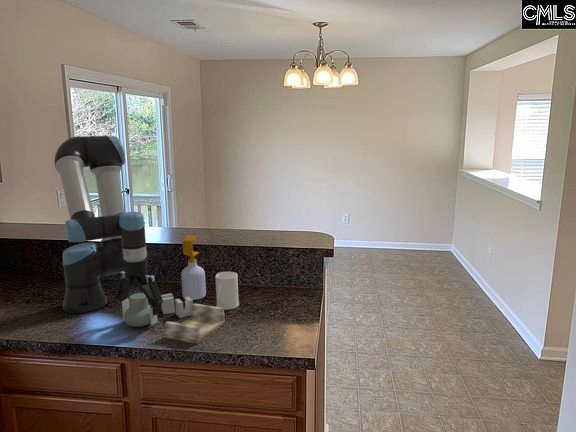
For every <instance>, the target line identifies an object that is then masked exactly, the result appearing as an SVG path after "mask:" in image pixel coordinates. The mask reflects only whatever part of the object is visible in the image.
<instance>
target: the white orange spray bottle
mask: <svg viewBox="0 0 576 432" xmlns="http://www.w3.org/2000/svg"><path fill="white" fill-rule="evenodd" d="M197 238H198V236H197V235H192V234H188V235H187V236H186V237H185V238H184V239H183V241H182V254H183V255H184V256H188V258H189V259H188V260H187V266H186V267H185V268H184V269H182V271H181V273H180V276H181V291H182V298H183V299H184V300H185V297H188V296H189V297H190V298H191V299H192V300H193V301H196V300H197V301H198V300H200V299H203V298H205V296H206V295H207V289H206V273H205V270H204V268H202V266H199V265H198V263H197V262H198V261H197V259H196V258H195V257H196V256H197V255H199V254H200V252H199V251H194V247H193V243H194V241H195V240H196V239H197Z"/></svg>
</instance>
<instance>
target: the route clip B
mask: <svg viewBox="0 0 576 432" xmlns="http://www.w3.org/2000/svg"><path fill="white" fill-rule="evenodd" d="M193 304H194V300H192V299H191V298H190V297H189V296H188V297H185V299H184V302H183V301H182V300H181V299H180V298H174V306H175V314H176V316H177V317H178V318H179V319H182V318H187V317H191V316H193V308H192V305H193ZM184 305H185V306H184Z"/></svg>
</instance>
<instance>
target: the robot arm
mask: <svg viewBox="0 0 576 432" xmlns="http://www.w3.org/2000/svg"><path fill="white" fill-rule="evenodd" d="M125 156H126V153H125V149H124V146H123V144H122V141H121V140H120V138H118V137H117V136H115V135H105V134H104V135H96V136H95V135H89V136H87V135H86V136H85V135H84V136H81V135H79V136H72V137H70V138H67V139H66V140H65V141H63V142H62V143H61V144H60V145H59V146H58V148H57V150H56V152H55V155H54V159H53V161H54V168H55V170H56V172H57V173H58V174H59V175H60V179H61V184H62V188H63V192H64V193H63V194H64V198H65V201H66V206H67V210H68V215H69V219H68V220H66V221H65V233H66V238H67V240H68V242H70V243H76V244H74V245H72V246H69V247H68V248H66V249H64V250H63V253H62V265H63V274H64V282H65V294H64V299H63V302H62V309H63V311H64V312H66V313H68V314H83V313H84V314H85V313H88V312H89V313H90V312H92V311H93V312H94V311H97V310H99V309H101V308H103V307H105V305H106V304H107V303H108V299H107V295H106V292H105V291H104V288H103V286H102V284H101V279H100V278H101V277H104V276H105V277H106V276H109V275H110V276H111V275H117V285H116V288H115V293H114V298H115V299H118V301H119V302H120V303H119V304H120V309H121V310H122V312H121V313H122V319H123V320H124V321H126V311H127V309H128V308H129V307H130V302H129V297H128V296H129V295H130V292H131V290H132V288H133V287H138V288H139V289H140V290H141V291H142V293H144V294H145V296H146V297H147V299H148V304H149V305H151V306H149V310H150V326H154V325H155V324H156V323H158V315H159V306H160V305H161V303H163V300H162V297H161V295H162V294H161V292H160V288H159V286H158V283H157V279H156V275H155V274H152V275H149V274H148V272H147V271H148V268H149V267H148V258H147V257H148V252H147V242H146V241H147V240H146V229H145V227H146V226H145V225H146V222H145V218H144V214H143V213H142V212H140V211H127V212H125V206H124V199H123V193H122V187H121V180H120V174H119V173H120V172H121V171H122V170H123V165H125V164H126V157H125ZM87 167H88V168H89V172H90V173H91V174H93V175H94V176H95V182H96V189H97V197H98V203H99V208H100V209H99V210H100V215H101V216H96V215H95V211H94V207H93V203H92V200H91V197H90V193H89V188H88V185H87V181H86V178H85V177H86V176H85V174H84V171H83V170H84V168H87ZM96 240H100V245H97V244H96V243H95V242H91V241H96ZM77 243H78V244H77Z"/></svg>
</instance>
